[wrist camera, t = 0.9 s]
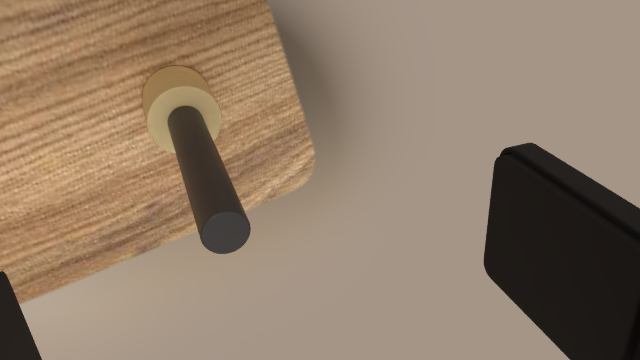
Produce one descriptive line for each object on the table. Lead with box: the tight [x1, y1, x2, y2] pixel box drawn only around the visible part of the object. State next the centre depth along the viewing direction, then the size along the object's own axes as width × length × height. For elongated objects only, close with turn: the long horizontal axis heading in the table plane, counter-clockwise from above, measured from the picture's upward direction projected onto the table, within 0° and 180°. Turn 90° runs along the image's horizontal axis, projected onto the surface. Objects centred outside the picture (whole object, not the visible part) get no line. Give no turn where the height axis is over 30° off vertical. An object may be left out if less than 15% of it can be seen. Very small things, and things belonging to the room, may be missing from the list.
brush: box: [142, 66, 250, 254], centre depth 29 cm, size 4×4×16 cm
